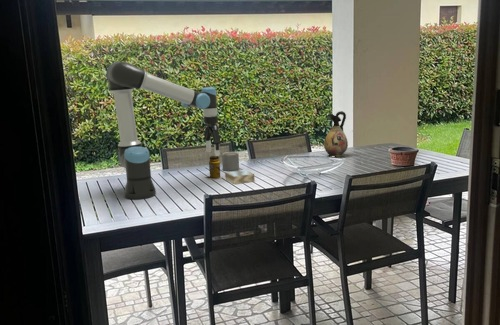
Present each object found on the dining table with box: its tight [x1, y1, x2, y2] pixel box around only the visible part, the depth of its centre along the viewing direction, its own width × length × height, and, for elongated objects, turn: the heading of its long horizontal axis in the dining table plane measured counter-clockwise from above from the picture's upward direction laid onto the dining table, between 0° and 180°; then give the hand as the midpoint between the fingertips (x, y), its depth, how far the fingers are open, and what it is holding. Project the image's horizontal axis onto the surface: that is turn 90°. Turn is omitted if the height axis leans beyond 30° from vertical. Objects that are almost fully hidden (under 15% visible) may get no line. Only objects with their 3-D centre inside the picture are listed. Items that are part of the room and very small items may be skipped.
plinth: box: [224, 169, 255, 185], centre depth 246 cm, size 12×12×4 cm
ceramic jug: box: [323, 110, 349, 158], centre depth 299 cm, size 17×15×30 cm
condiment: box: [204, 155, 224, 181], centre depth 254 cm, size 7×8×12 cm
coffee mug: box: [221, 151, 240, 172], centre depth 274 cm, size 13×10×10 cm
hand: (213, 154), depth 252 cm, fingers open, 13 cm apart
